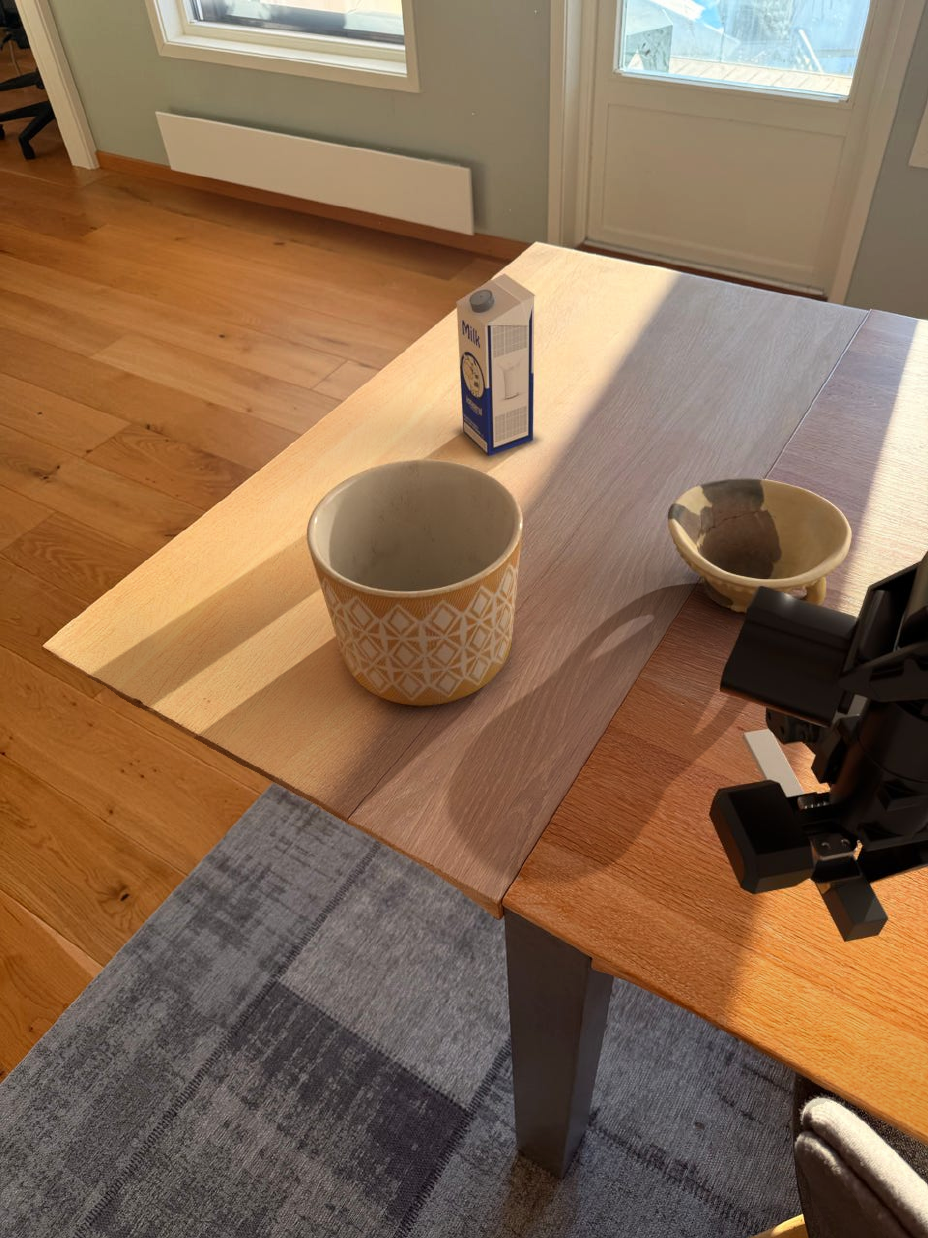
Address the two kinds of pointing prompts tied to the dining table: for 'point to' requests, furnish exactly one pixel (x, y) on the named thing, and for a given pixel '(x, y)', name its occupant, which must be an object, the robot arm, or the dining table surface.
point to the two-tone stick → (856, 900)
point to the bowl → (758, 538)
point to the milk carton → (497, 364)
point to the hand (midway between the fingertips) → (840, 883)
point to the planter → (419, 577)
